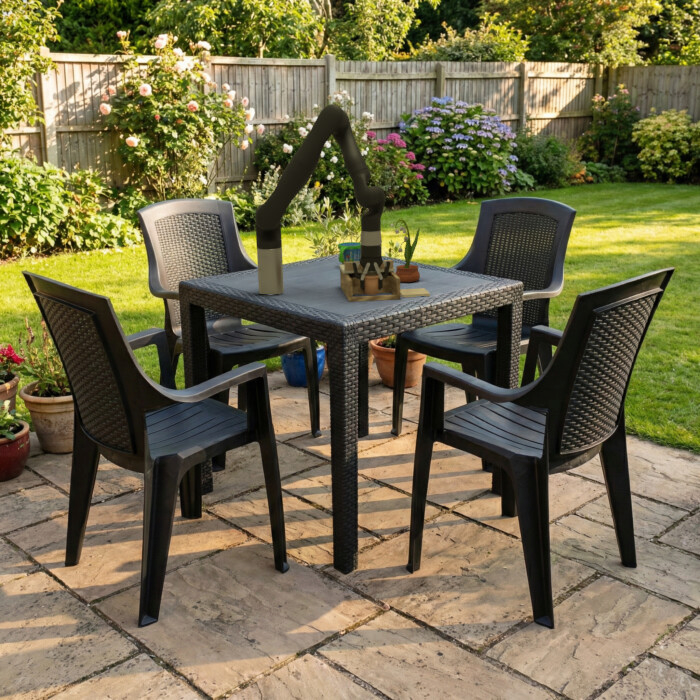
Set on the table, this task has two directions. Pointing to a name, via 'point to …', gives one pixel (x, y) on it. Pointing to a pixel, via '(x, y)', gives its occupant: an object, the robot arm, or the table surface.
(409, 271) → the potted flower
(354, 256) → the snack cup
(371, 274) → the clay pot
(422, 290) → the stone tile
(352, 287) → the open wooden frame
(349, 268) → the lid
